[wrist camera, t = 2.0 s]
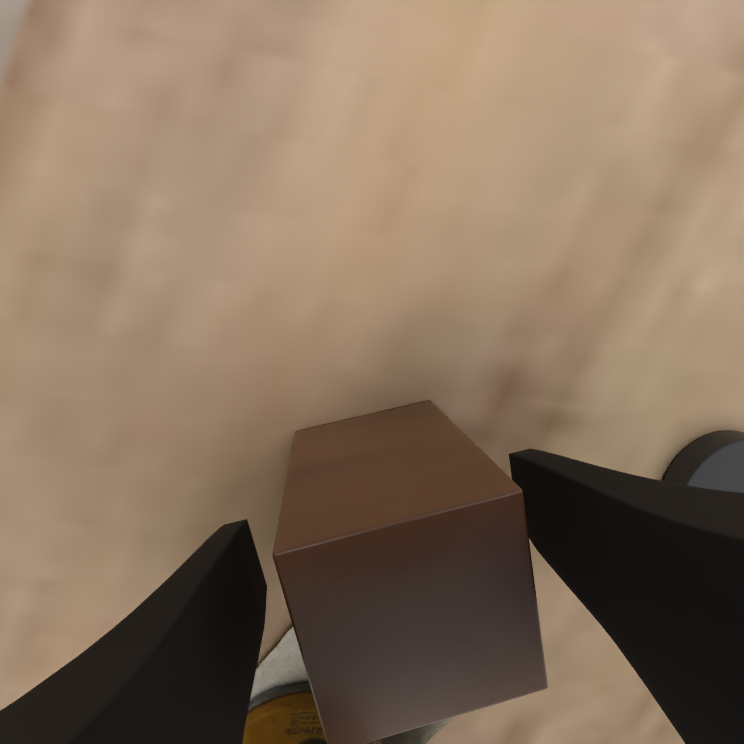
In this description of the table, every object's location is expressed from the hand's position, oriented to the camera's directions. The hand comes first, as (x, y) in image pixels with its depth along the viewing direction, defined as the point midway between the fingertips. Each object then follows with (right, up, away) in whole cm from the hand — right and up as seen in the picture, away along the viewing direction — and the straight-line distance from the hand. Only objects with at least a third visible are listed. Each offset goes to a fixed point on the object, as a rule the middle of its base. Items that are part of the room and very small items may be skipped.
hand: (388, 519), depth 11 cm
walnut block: (0, 0, +2) cm, 2 cm away
